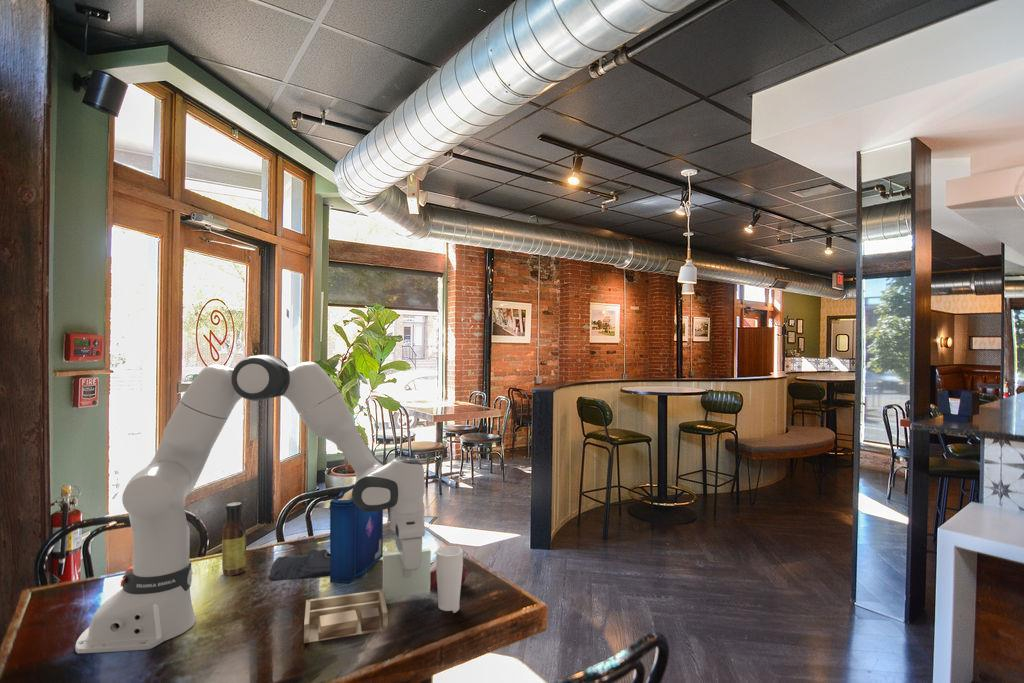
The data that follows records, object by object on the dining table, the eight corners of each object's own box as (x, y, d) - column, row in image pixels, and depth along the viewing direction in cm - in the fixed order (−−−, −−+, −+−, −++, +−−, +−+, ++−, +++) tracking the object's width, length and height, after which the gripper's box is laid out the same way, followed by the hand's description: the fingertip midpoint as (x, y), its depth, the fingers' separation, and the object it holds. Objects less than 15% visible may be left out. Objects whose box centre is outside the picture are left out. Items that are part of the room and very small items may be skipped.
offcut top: (320, 633, 117) (320, 626, 117) (319, 622, 122) (319, 616, 122) (357, 626, 121) (358, 619, 121) (355, 616, 125) (355, 609, 125)
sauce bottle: (250, 571, 156) (251, 503, 156) (229, 578, 150) (230, 508, 150) (237, 565, 159) (239, 499, 159) (216, 573, 154) (218, 504, 154)
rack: (303, 648, 116) (304, 624, 116) (305, 621, 128) (306, 599, 128) (387, 634, 122) (387, 612, 122) (382, 610, 133) (382, 589, 134)
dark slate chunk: (276, 562, 163) (276, 546, 163) (350, 556, 169) (350, 541, 169) (266, 583, 148) (266, 566, 149) (347, 576, 154) (348, 560, 154)
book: (349, 589, 144) (350, 498, 145) (325, 587, 146) (327, 496, 146) (383, 559, 166) (384, 479, 166) (362, 557, 167) (363, 477, 167)
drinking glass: (451, 601, 139) (452, 543, 139) (467, 610, 134) (468, 551, 134) (429, 609, 134) (430, 550, 134) (446, 619, 129) (447, 558, 129)
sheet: (383, 599, 134) (383, 556, 134) (382, 596, 135) (383, 553, 135) (430, 592, 138) (430, 550, 138) (429, 590, 139) (429, 548, 139)
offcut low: (318, 639, 118) (318, 632, 118) (318, 628, 122) (318, 621, 122) (355, 633, 120) (355, 626, 120) (354, 622, 125) (354, 616, 125)
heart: (419, 577, 151) (426, 597, 142) (421, 552, 150) (428, 570, 141) (460, 573, 155) (469, 592, 146) (462, 548, 154) (471, 565, 145)
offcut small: (361, 631, 121) (361, 618, 121) (360, 622, 125) (360, 610, 125) (379, 628, 123) (379, 615, 123) (377, 620, 126) (378, 607, 126)
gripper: (390, 509, 145) (389, 560, 145) (399, 534, 126) (399, 593, 126) (413, 507, 148) (412, 557, 147) (426, 532, 128) (425, 589, 128)
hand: (406, 574), depth 137 cm, fingers closed on sheet, 2 cm apart
